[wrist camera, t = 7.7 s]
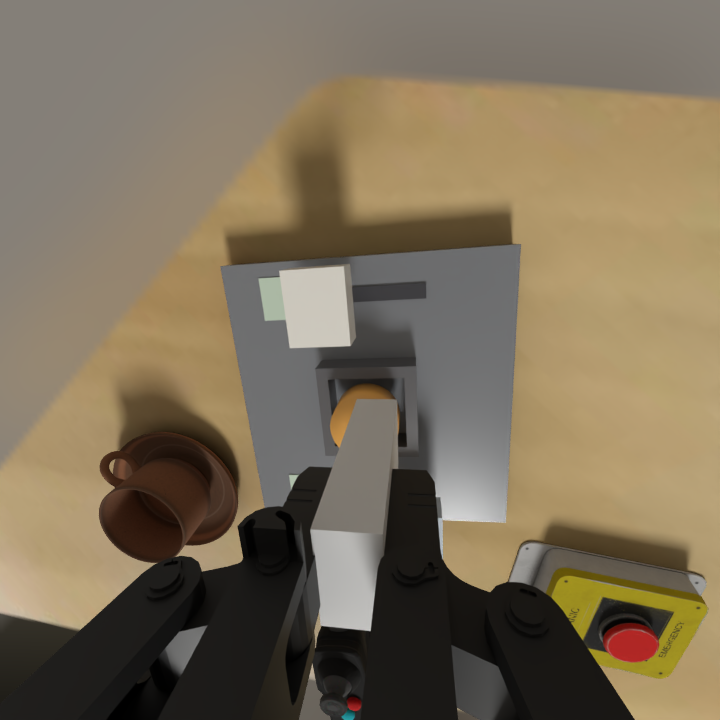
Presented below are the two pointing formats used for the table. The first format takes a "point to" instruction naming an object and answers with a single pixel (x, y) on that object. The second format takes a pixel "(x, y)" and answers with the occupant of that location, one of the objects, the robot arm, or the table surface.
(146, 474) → the cup and saucer
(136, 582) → the robot arm
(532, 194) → the table surface
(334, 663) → the controller
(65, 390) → the table surface
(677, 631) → the emergency button
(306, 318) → the off-white rectangular box
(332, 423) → the amber button
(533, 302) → the table surface
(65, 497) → the table surface
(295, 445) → the control panel
